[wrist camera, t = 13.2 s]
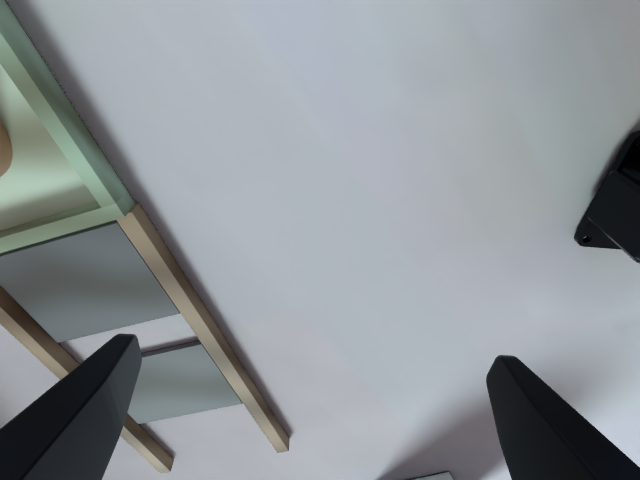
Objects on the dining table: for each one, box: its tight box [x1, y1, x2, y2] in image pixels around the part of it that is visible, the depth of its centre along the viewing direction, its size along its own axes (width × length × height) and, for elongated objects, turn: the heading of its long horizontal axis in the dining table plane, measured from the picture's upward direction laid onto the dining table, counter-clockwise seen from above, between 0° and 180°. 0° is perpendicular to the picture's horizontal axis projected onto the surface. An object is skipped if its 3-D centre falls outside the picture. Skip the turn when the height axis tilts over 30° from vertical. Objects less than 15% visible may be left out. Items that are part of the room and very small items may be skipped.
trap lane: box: [0, 0, 289, 473], centre depth 25 cm, size 36×12×1 cm, turn 17°
